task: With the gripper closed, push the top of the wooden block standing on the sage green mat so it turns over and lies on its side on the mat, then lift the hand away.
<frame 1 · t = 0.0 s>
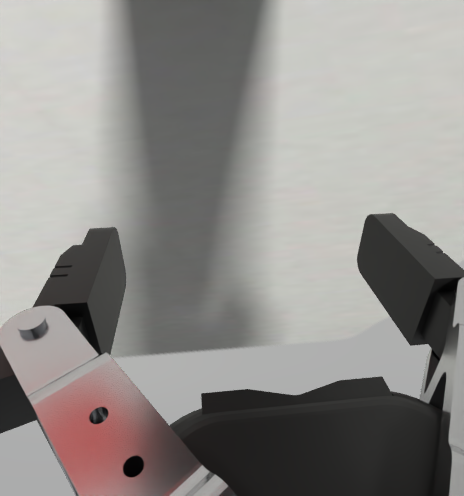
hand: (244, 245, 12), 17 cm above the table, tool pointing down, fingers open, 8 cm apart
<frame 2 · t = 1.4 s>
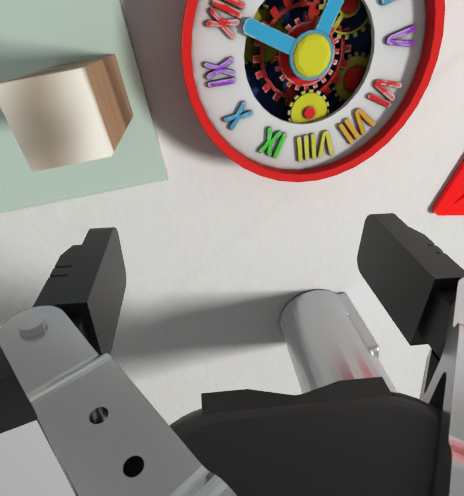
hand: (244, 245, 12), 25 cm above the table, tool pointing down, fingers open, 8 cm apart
mat: (29, 104, 32), on the table
wooden block: (96, 91, 31), resting on mat
toy clock: (293, 51, 32), on the table
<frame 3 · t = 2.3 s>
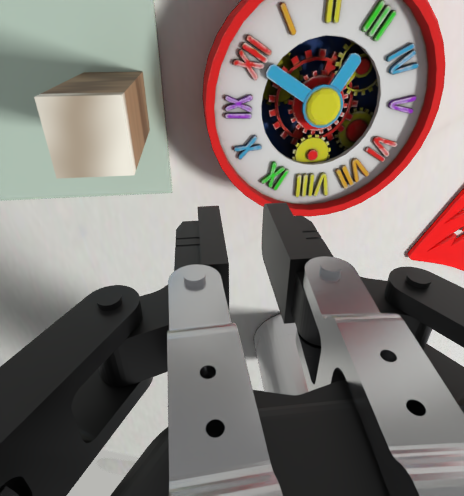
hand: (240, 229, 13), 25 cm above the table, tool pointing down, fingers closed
mat: (51, 102, 32), on the table
wooden block: (118, 102, 33), resting on mat
toy clock: (305, 96, 35), on the table
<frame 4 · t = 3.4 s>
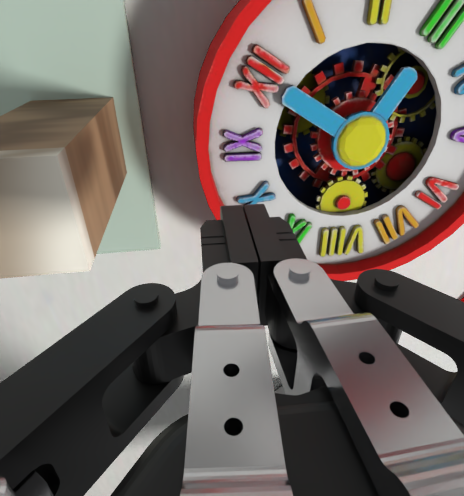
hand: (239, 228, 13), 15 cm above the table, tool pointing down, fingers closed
wooden block: (82, 139, 24), resting on mat
toy clock: (331, 121, 26), on the table
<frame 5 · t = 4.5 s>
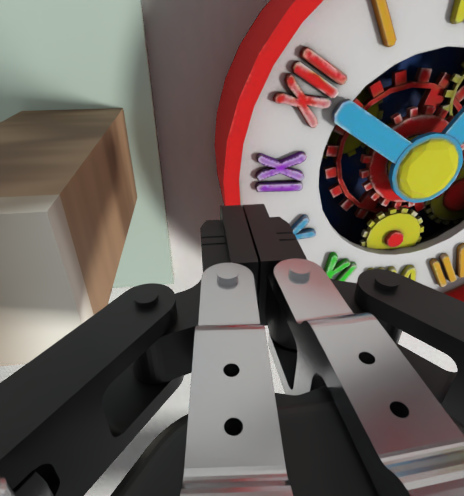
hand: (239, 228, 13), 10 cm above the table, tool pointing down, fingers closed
wooden block: (84, 157, 20), resting on mat
toy clock: (378, 139, 22), on the table
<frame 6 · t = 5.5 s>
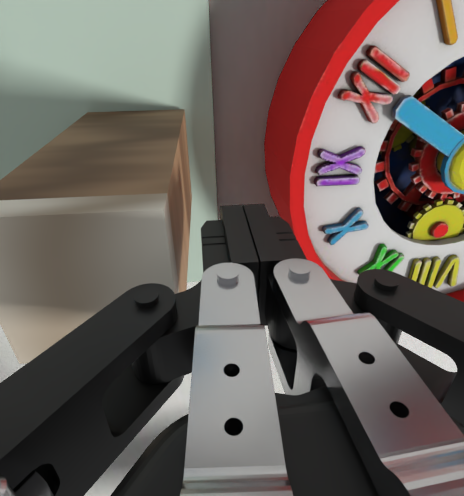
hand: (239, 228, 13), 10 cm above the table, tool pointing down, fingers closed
mat: (34, 160, 20), on the table
wooden block: (143, 157, 20), point 1 cm above the table, touching gripper, mat
toy clock: (418, 134, 23), on the table
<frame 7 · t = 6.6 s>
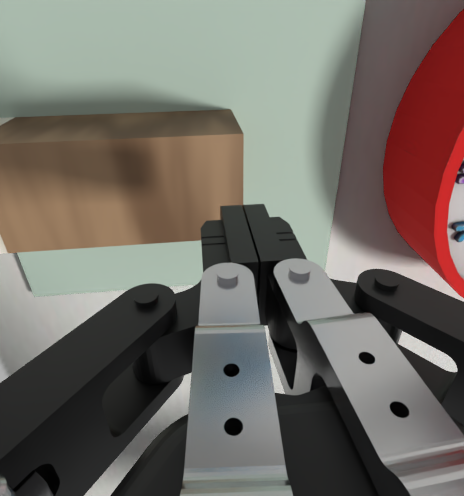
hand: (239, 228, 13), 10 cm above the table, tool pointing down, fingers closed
mat: (170, 155, 21), on the table
wooden block: (236, 170, 18), point 3 cm above the table, tilted 90°, touching mat
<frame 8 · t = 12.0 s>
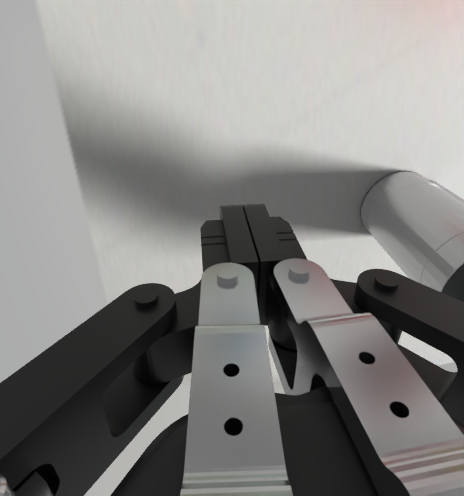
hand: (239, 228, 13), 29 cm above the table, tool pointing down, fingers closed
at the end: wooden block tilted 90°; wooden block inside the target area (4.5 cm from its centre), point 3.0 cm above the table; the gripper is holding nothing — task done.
